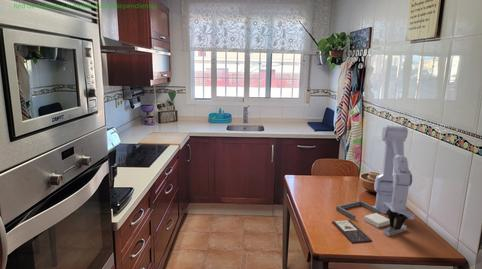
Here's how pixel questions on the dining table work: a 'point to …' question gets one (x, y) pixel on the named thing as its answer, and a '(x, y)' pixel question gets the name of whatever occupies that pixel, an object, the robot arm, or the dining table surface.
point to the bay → (342, 207)
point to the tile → (376, 220)
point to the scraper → (394, 229)
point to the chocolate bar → (351, 231)
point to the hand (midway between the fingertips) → (395, 227)
